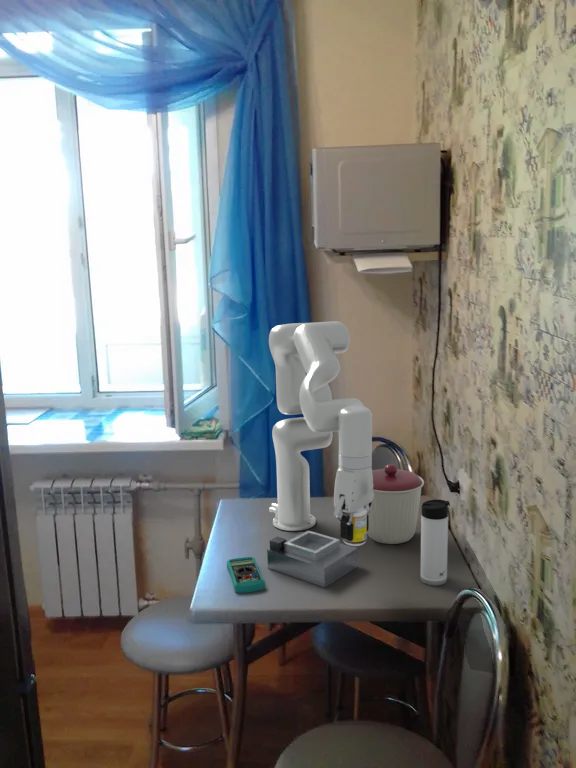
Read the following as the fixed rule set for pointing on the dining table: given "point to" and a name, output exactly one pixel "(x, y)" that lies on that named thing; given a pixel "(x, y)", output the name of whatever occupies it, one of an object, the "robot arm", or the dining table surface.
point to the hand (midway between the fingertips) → (354, 533)
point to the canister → (394, 505)
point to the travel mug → (434, 542)
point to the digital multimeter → (245, 575)
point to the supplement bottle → (358, 527)
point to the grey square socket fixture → (312, 557)
